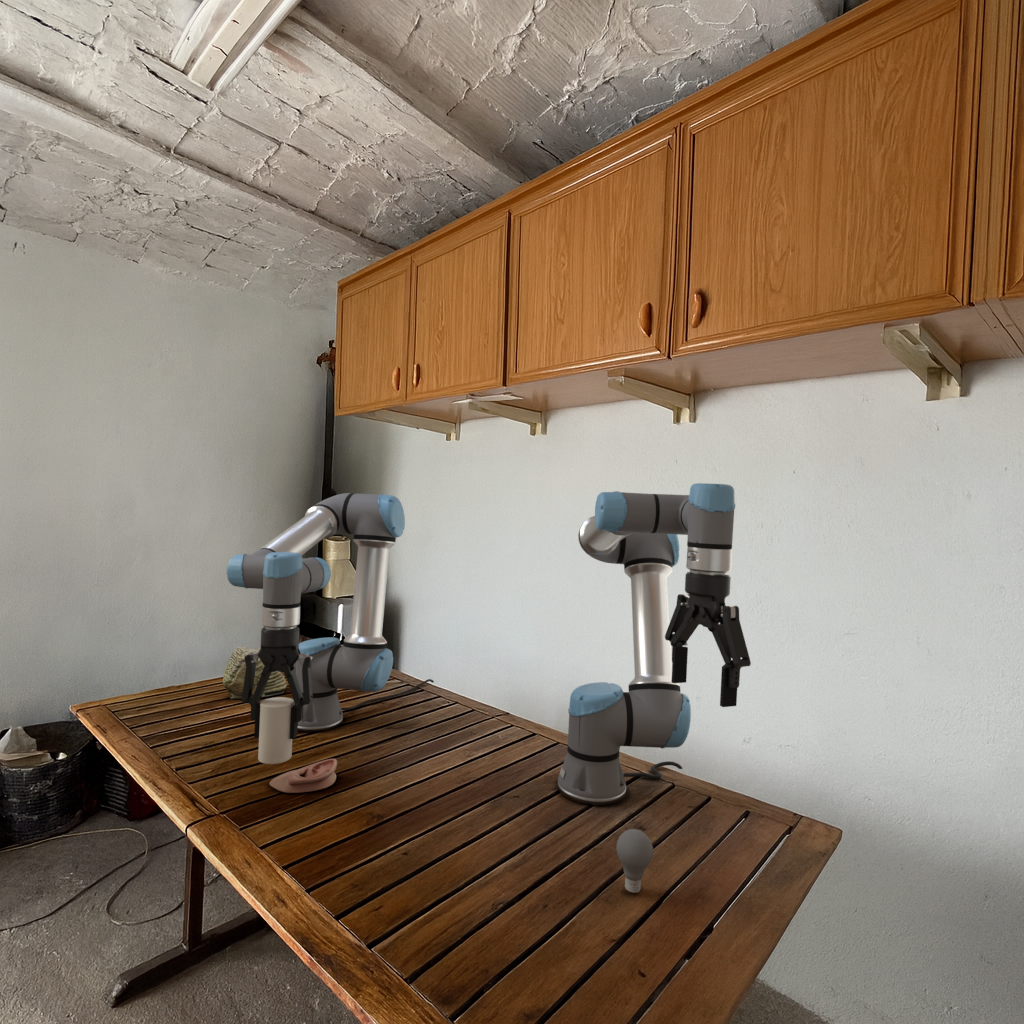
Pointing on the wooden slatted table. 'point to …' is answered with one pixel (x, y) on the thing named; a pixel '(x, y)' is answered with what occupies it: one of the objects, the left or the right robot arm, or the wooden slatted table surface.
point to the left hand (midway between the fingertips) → (276, 735)
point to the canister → (275, 730)
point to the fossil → (236, 677)
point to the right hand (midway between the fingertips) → (702, 693)
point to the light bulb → (634, 857)
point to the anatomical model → (307, 778)
